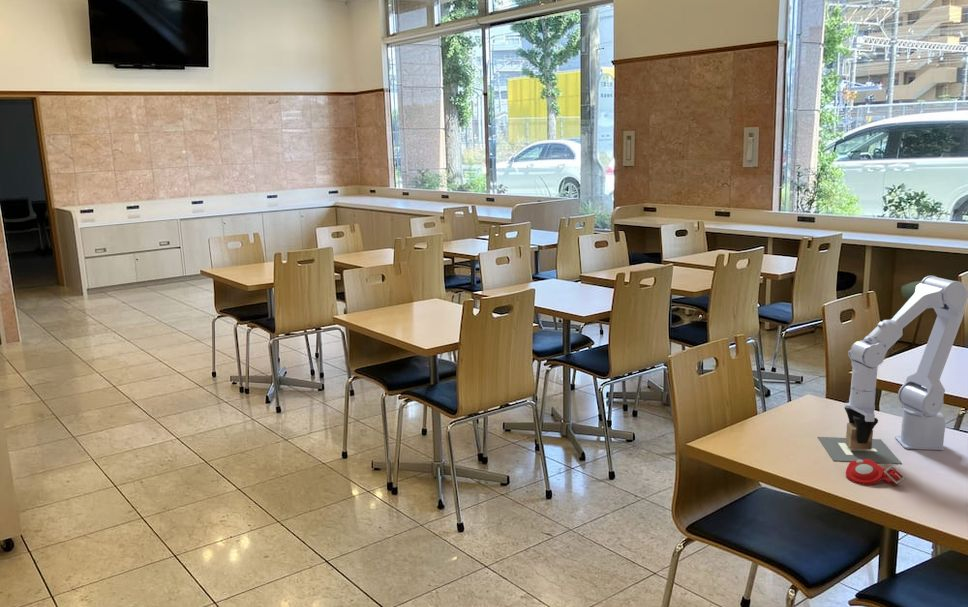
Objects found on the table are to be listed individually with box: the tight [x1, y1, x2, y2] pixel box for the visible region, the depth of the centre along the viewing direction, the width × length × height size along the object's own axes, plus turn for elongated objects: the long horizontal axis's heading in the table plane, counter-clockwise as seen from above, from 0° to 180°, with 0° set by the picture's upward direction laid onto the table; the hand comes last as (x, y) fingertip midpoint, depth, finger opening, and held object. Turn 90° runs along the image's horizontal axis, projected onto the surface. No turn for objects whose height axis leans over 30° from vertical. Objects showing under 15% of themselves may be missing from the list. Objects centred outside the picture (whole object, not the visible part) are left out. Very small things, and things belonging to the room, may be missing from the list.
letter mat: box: [817, 436, 902, 465], centre depth 207 cm, size 16×16×1 cm
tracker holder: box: [845, 459, 906, 486], centre depth 190 cm, size 12×4×10 cm
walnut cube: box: [845, 422, 874, 449], centre depth 206 cm, size 5×5×5 cm
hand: (858, 438), depth 206 cm, fingers closed on walnut cube, 5 cm apart
